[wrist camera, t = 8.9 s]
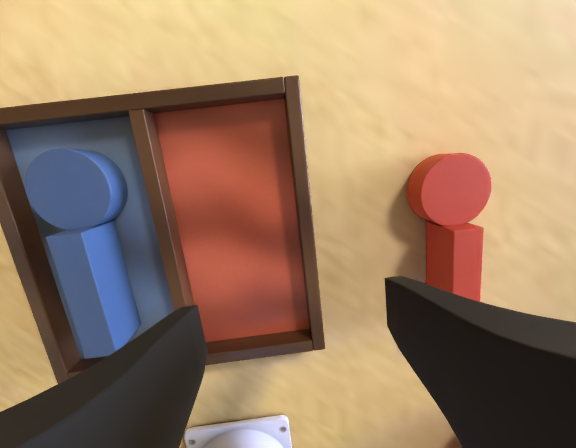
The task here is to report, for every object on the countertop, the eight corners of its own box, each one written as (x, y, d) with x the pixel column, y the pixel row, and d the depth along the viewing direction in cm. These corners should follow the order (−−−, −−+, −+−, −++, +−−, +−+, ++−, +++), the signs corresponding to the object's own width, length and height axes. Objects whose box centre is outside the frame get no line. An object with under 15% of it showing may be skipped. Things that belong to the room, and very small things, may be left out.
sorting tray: (320, 330, 20) (325, 349, 18) (80, 362, 20) (57, 385, 18) (295, 85, 16) (298, 74, 14) (-1, 118, 16) (-41, 112, 14)
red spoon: (466, 309, 20) (499, 334, 17) (408, 317, 20) (431, 343, 17) (472, 150, 18) (511, 147, 15) (405, 158, 18) (431, 157, 15)
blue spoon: (161, 322, 18) (140, 352, 16) (95, 330, 18) (61, 362, 15) (118, 145, 16) (83, 141, 13) (41, 154, 16) (-12, 152, 13)
